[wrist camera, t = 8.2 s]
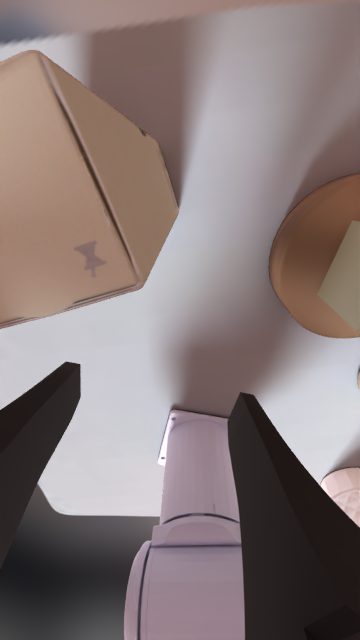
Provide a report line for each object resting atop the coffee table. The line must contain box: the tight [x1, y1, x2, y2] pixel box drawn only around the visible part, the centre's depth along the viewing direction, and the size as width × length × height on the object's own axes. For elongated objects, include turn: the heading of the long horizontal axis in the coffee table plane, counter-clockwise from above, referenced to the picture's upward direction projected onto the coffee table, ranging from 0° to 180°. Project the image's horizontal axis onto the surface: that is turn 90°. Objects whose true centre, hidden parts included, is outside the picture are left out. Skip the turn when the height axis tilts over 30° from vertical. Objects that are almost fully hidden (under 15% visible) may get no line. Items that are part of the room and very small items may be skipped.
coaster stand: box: [269, 174, 360, 338], centre depth 16 cm, size 10×10×3 cm
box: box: [0, 50, 179, 329], centre depth 11 cm, size 5×4×13 cm
